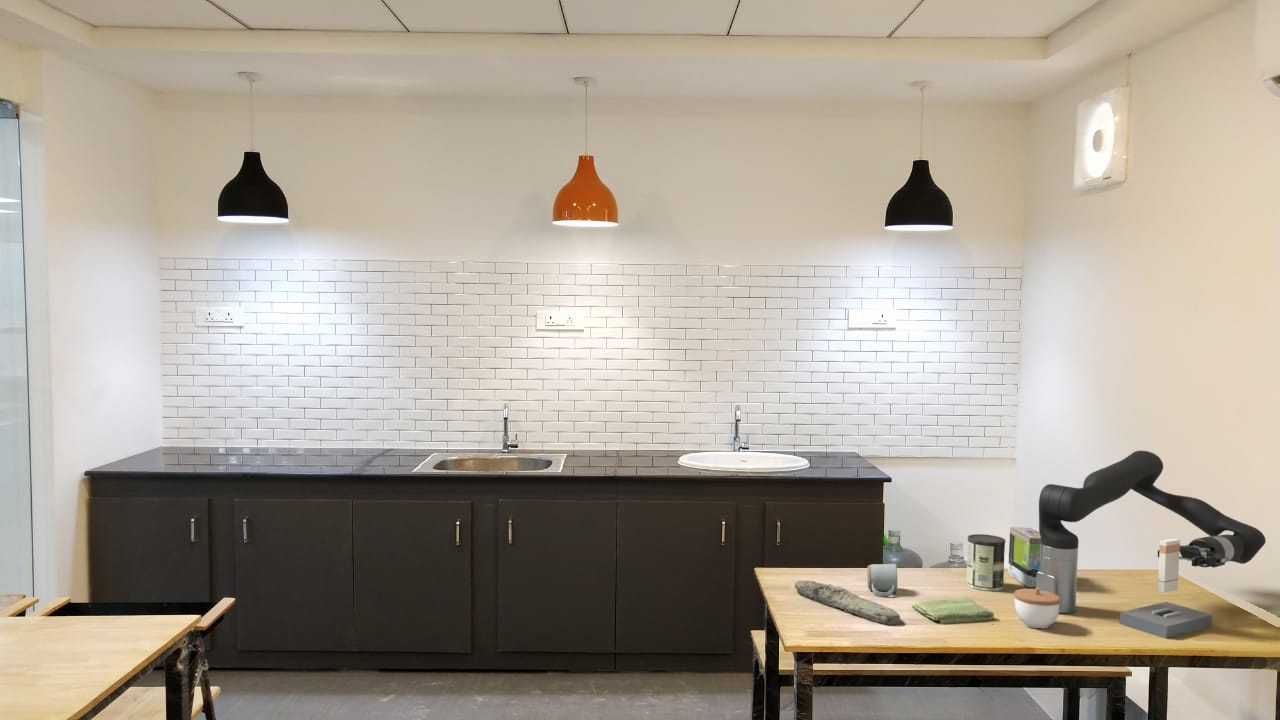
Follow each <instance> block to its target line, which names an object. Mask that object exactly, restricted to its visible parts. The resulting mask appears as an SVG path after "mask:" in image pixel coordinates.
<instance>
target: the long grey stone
mask: <svg viewBox="0 0 1280 720" xmlns="http://www.w3.org/2000/svg"><path fill="white" fill-rule="evenodd" d="M794 588H795V589H796V592H797V593H799V594H800V595H802V596H804V597H805V598H806V599H809V600H812V601H814V602H815V603H818V604H821V603H822V604H823V605H825V606H828V607H832V608H838V609H841V610H844V612H846V613H851V614H854V615H856V616H858V617H860V618H862V619H865V620H867V621H869V622H870V621H871V622H876V623H880V624H882V625H883V624H884V625H888V626H896V625H899V624H901V615H900V614H899V612H897V611H895V610H894V609H893V608H891V607H887V606H886V605H885V606H884V605H882V604H879V603H877V602H875V601H872V600H869V599H867V598H864V597H863V598H862V597H859V596H858V595H856V594H854V593H852V592H851V591H849V590H848V589H846V588H843V587H841V586H835V585H833V584H829V583H828V584H826V583H820V582H817V581H814V580H805V579H804V580H797V581H795V583H794Z"/></svg>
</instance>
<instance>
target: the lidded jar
mask: <svg viewBox="0 0 1280 720" xmlns="http://www.w3.org/2000/svg"><path fill="white" fill-rule="evenodd" d="M1013 595H1014V608H1015V613H1016V615H1017V617H1018V619H1020V621H1021V622H1022V624H1023V623H1024V624H1025V625H1024V624H1023V625H1024V626H1026V625H1027V626H1026V627H1028V626H1030V627H1029V628H1032V627H1033V628H1032V629H1037V628H1042V629H1041V630H1043V629H1044V630H1045V628H1046V629H1048V627H1049V628H1050V626H1052V625H1053V624H1054V623H1055V622H1056V621H1057V618H1058V616H1059V614H1060V613H1059V605H1060V597H1059V596H1058V595H1056V594H1054V593H1051V592H1048V591H1044V590H1040V589H1039V588H1035V587H1034V588H1021V589H1017V590H1015V591H1014V593H1013Z"/></svg>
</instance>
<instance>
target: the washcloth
mask: <svg viewBox="0 0 1280 720" xmlns="http://www.w3.org/2000/svg"><path fill="white" fill-rule="evenodd" d="M911 607H912V609H914V611H916V612H917V613H918V612H919V613H921V615H923V616H925V617H927V618H929V619H932V620H933V621H935V622H936V623H939V625H949V624H959V623H972V622H984V621H991V620H992V619H993V618H994V617H995V613H994V611H992V610H990V609H988V608H986V607H984V606H983V605H980V604H978V603H976V601H974V600H973V599H971V598H969V597H967V596H960V597H956V598H945V599H943V598H942V599H932V600H921V601H917V602H916V603H914V604H912V606H911Z"/></svg>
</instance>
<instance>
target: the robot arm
mask: <svg viewBox="0 0 1280 720" xmlns="http://www.w3.org/2000/svg"><path fill="white" fill-rule="evenodd" d="M1163 469H1164V463H1163V461H1162V459H1161V458H1160V457H1159V456H1158V455H1157V454H1155V453H1153V452H1151V451H1148V450H1136V451H1133V452H1132V453H1130V454H1128V455H1127V456H1126V457H1125V458H1122V459H1121V460H1120V461H1117V462H1115V463H1112V464H1110V465H1108V466H1105V467H1103V468H1100V469H1098V470H1095V471H1093V472H1091V473H1089V474H1088V475H1087V476H1086V477H1085V479H1084V481H1083V484H1082V487H1072V486H1067V485H1066V486H1065V485H1061V484H1054V483H1053V484H1052V483H1049V484H1046V485H1044V486H1043V488H1042V489H1041V491H1040V494H1039V497H1038V528H1039V533H1040V537H1041V548H1040V571H1039V572H1037V577H1036V588H1039V589H1040V590H1044V591H1048V592H1051V593H1054V594H1056V595H1058V596H1059V597H1060V605H1059V613H1058V614H1072V613H1075V612H1076V609H1077V608H1076V606H1077V604H1076V603H1077V584H1078V581H1077V579H1078V559H1079V558H1078V557H1079V537H1078V536H1077V535H1076V534H1075V533H1073V532H1072V531H1070V530H1068V528H1066V527H1065V525H1064V524H1063V523H1062V521H1063V522H1066V523H1078V522H1080V521H1082V520H1083V519H1085V518H1087V516H1089V515H1091V513H1093V512H1094V511H1096V510H1098V509H1100V508H1102V507H1104V506H1105V505H1107V504H1110V503H1113V502H1115V501H1117V500H1120V499H1121V498H1123V497H1124V496H1125V495H1126V494H1127V493H1129V491H1131V490H1132V491H1134V492H1135V493H1137V494H1139V495H1141V496H1143V497H1145V498H1147V499H1148V500H1150V501H1152V502H1153V503H1156V504H1157V505H1159V506H1162V507H1164V508H1166V509H1167V510H1170V511H1171V512H1173V513H1175V514H1176V515H1179V516H1180V517H1182V518H1183V519H1185V520H1186V521H1188V522H1189V523H1190V524H1192V525H1193V526H1195V527H1197V528H1198V529H1199V530H1201V531H1203V532H1204V534H1206V535H1208V536H1205V537H1200V538H1199V537H1198V538H1195V539H1192V540H1191V541H1190V542H1189V544H1186V545H1180V551H1179V555H1180V556H1179V561H1180V560H1181V561H1183V560H1184V561H1188V562H1191V566H1192V567H1200V568H1210V567H1211V568H1218V567H1221V566H1225V565H1226V563H1229V562H1232V563H1233V562H1234V563H1238V564H1240V565H1241V564H1242V565H1244V564H1246V563H1249V562H1250V561H1251V560H1252V559H1253V558H1254V557H1255V556H1256V555H1257V554H1258V552H1259V551H1260V550H1261V549H1262V548H1263V547H1264V545H1266V542H1267V541H1266V536H1265V535H1264V533H1263V532H1262V531H1261V530H1259V529H1258V528H1256V527H1254V526H1252V525H1249V524H1247V523H1244V522H1241V521H1239V520H1236V519H1233V518H1231V517H1230V516H1228V515H1225V514H1224V513H1223V512H1221V511H1219V510H1218V509H1216V508H1215V507H1214V506H1212V505H1211V504H1209V503H1207V502H1205V501H1204V500H1202V499H1199V498H1197V497H1192V496H1187V495H1185V496H1184V495H1178V494H1173V493H1169V492H1166V491H1163V490H1162V489H1160V488H1158V487H1157V486H1155V485H1154V484H1155V483H1156V481H1157V480H1158V478H1159V477H1160V476H1161V474H1162V472H1163V471H1164V470H1163ZM1225 531H1227V532H1231V533H1233V534H1222V533H1223V532H1225ZM1157 557H1158V559H1159V549H1157Z"/></svg>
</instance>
